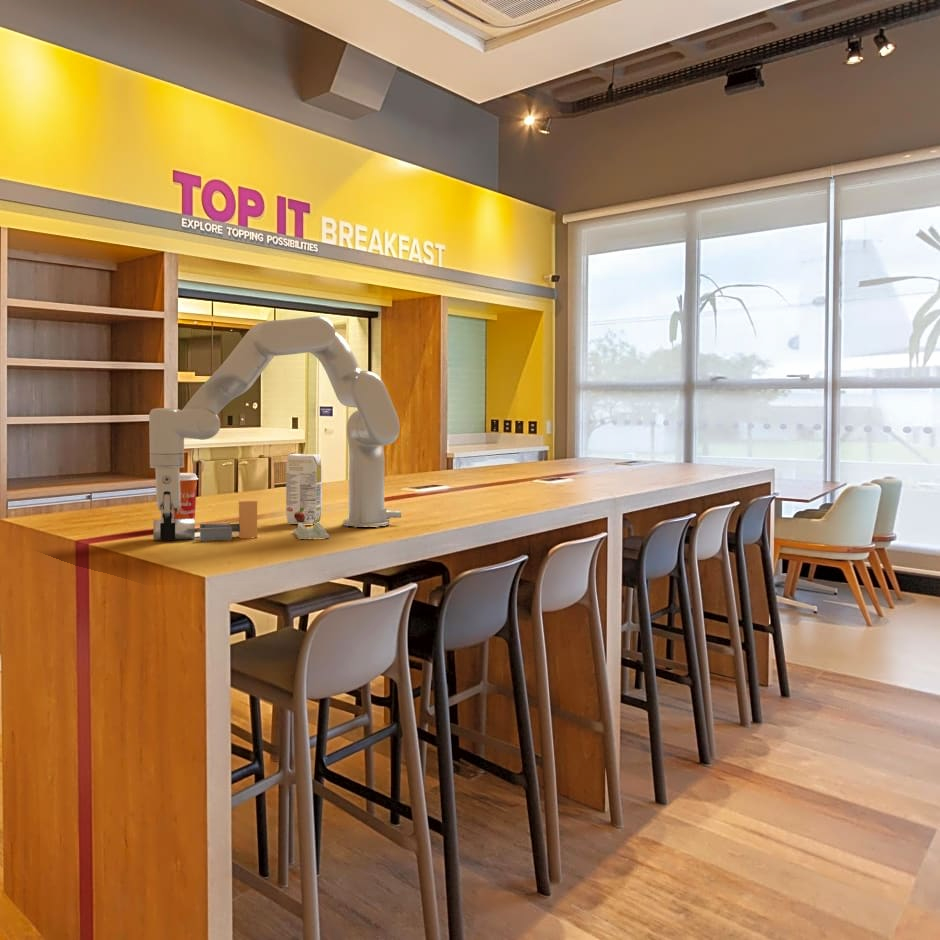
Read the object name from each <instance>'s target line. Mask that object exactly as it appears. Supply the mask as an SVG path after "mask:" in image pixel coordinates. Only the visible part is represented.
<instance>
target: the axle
mask: <svg viewBox="0 0 940 940" xmlns="http://www.w3.org/2000/svg"><path fill="white" fill-rule="evenodd" d="M152 523H153V526H152V527H153V529H152V530H153V540H154V541H162V540H161V539H160V523H161V518H160V519H153V522H152ZM174 523H175V540H190V539H191V540H192V539H195V535H196V534H195V533H196V532H195V531H196V530H195V525H196V524H195V523H196V522H195V521H194V518H192V519H174Z"/></svg>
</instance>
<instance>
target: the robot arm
mask: <svg viewBox="0 0 940 940" xmlns="http://www.w3.org/2000/svg"><path fill="white" fill-rule="evenodd" d="M306 353H310V354H311V355H313V356H314V357H315V358H316V359H317V360H318V362H320V363H321V365H322V367H323V370H324V371H325V373H326V375H327V378H328V380H329V382H330V384H331V387H332V388H333V392H334V393H335V394H334V395H335V396H336V399H337V400H338V401H339V403H340V404H341V405H343V406H344V407H347V408H356V409H357V410H355V411H354V412H352V414H351V415H350V416H349V417H348V420H347V423H346V436H347V437H346V438H347V443H348V455H349V462H348V463H349V466H348V469H349V471H348V518H345V519H343V521H342V525H343V524H344V525H343V526H345V525H347V526H346V527H348V526H356V527H355V528H357V527H364V526H383V525H387V524H389V523H390V524H391V522H390V519H391V518H392V519H393V518H394V519H396V518H398V519H399V518H402V511H401V510H389V509H387V508H385V475H386V473H385V468H386V466H385V465H386V463H385V462H386V460H385V452H384V446H388V445H390V444H394V442H395V441H396V440H397V439H398V437H399V435H400V430H401V425H400V424H401V423H400V418H399V417H398V413H397V411H396V409H395V406H394V404H393V400H392V399H391V396H390V394H389V391H388V389H387V387H386V385H385V383H384V381H383V380H382V379H381V377H379V376H378V375H377V374H376V373H375V372H373V371H369V370H362V369H361V367H360V365H359V363H358V362H357V360H356V357H355V355H354V353H353V351H352V348H351V347H350V345H349V344H348V343H347V341H346V340H345V338H343V337H342V336H341V335H340V334H339V333H338V332H336V328H335V325H334V324H333V323H332V322H331V320H329V319H328V318H326V317H325V316H324V317H323V316H321V315H319V316H318V315H315V316H308V317H307V316H305V317H297V318H290V319H289V318H287V319H277V320H274V319H273V320H268V321H263V322H259V323H256V324H254V325H253V326H251V328H250V329H249V330H248V331H247V332H246V333H245V335H244V336H243V338H241V340H240V341H239V342H238V344H236V346H235V348H234V349H233V350H232V351H231V353H230V354H229V355H228V357H227V358H226V359H225V360H224V361H223V363H222V364H221V365H220V366H219V367H218V368H217V370H215V372H213V373H212V375H211V376H210V377H209V378H208V379H207V380H206V381H205V382H204V383H203V384H202V385H201V386H200V387H199V388H198V389H197V390H196V392H195V393H194V394H193V396H192V397H190V399H189V401H188V402H187V403H186V404H185V406H184V407H183V408H182V409H179V408H172V407H171V408H170V407H169V408H168V407H164V408H162V407H157V408H156V407H155V408H152V409H151V410H150V412H149V416H148V417H149V418H148V420H149V421H148V423H149V424H148V427H149V428H148V429H149V430H148V433H149V469H150V468H151V469H155V493H156V503H157V504H156V505H157V509H158V510H159V511H160V519H161V523H160V539H161V540H160V541H162V542H163V541H164V542H165V541H175V540H176V539H175V523H174V508H177V510H179V509H180V507H181V496H180V473H181V472H180V469H182V468H185V439H194V440H203V441H204V440H210V439H212V438H213V437H215V436H216V435H217V434H218V433H219V431H220V429H221V420H220V417H219V416H218V415H219V413H220V412H221V411H222V410H223V409H224V408H225V406H227V405H228V404H229V403H230V402H231V401H232V400H234V399H235V398H237V397H239V396H242V395H243V394H244V393H246V392H247V391H248V390H249V389H250V388H251V387H252V386H253V384H254V383H255V382H256V381H257V379H258V378H259V376H260V375H261V374H262V373H263V371H264V370H266V368H267V366H268V365H269V364H270V362H271V361H272V359H274V357H278V356H289V355H298V354H306ZM390 524H389V525H390Z"/></svg>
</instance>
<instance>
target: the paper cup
mask: <svg viewBox="0 0 940 940" xmlns="http://www.w3.org/2000/svg"><path fill="white" fill-rule="evenodd" d="M198 480H199V478H198V475H196V473H193V472H180V496H181V507H180V509H179V510H177V508H174V519H192V518H194V521H195V520H196V505H197V503H196V502H197V500H196V499H197V484H198V483H197V482H198Z"/></svg>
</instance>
